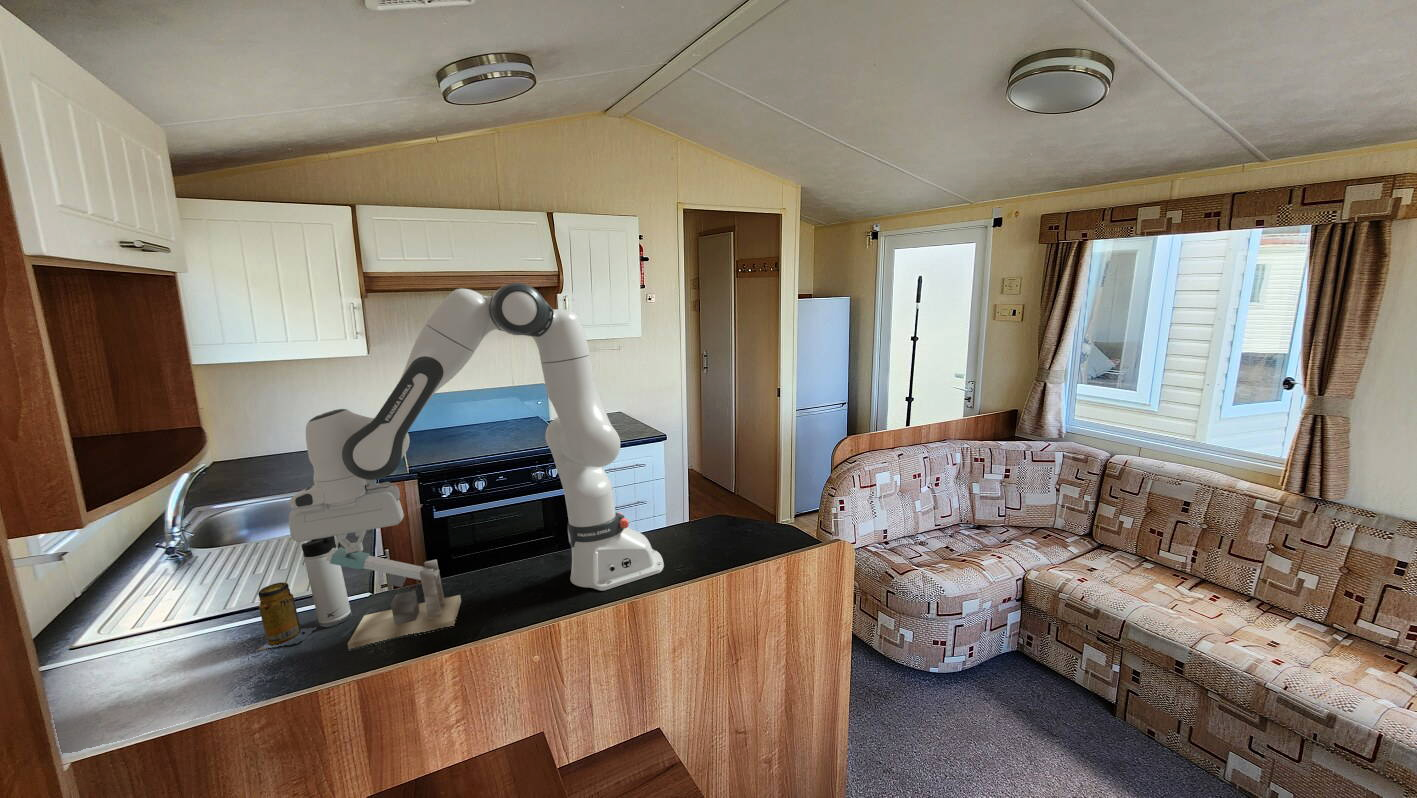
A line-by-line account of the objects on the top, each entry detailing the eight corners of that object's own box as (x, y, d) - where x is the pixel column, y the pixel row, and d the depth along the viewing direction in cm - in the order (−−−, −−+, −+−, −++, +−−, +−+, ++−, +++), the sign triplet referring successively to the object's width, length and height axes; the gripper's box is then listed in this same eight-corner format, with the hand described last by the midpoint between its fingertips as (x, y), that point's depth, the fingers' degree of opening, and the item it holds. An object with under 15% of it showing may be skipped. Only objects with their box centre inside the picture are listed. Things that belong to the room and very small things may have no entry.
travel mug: (337, 628, 129) (318, 542, 126) (312, 627, 130) (293, 543, 127) (359, 613, 135) (341, 531, 132) (335, 612, 136) (317, 531, 133)
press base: (461, 600, 136) (452, 551, 134) (454, 626, 124) (443, 573, 122) (365, 621, 131) (354, 570, 129) (349, 650, 119) (336, 595, 117)
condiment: (279, 632, 130) (266, 582, 128) (318, 626, 131) (307, 576, 129) (257, 651, 123) (244, 598, 121) (299, 645, 123) (287, 592, 121)
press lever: (434, 585, 130) (440, 568, 130) (430, 594, 126) (437, 576, 126) (328, 564, 123) (334, 546, 123) (320, 572, 119) (327, 554, 119)
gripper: (400, 476, 126) (412, 537, 128) (292, 493, 121) (306, 556, 123) (393, 484, 120) (405, 547, 122) (279, 502, 115) (294, 568, 117)
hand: (354, 552), depth 123 cm, fingers closed
